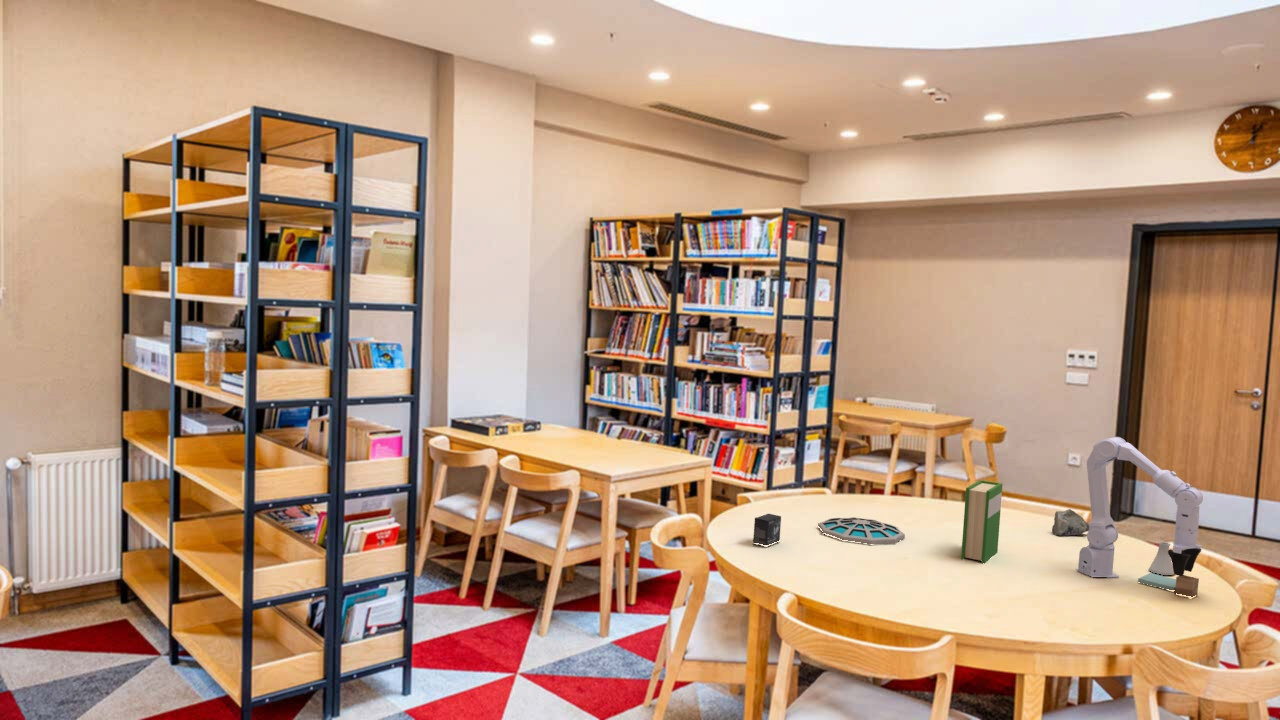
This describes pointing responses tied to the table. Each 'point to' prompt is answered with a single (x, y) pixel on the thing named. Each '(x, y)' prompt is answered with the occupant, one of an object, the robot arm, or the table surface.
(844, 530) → the grey teal dome window
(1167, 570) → the flask
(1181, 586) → the walnut block
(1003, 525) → the table surface
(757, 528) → the box
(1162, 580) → the base board
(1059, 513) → the mineral rock
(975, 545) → the hardback book
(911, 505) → the table surface
